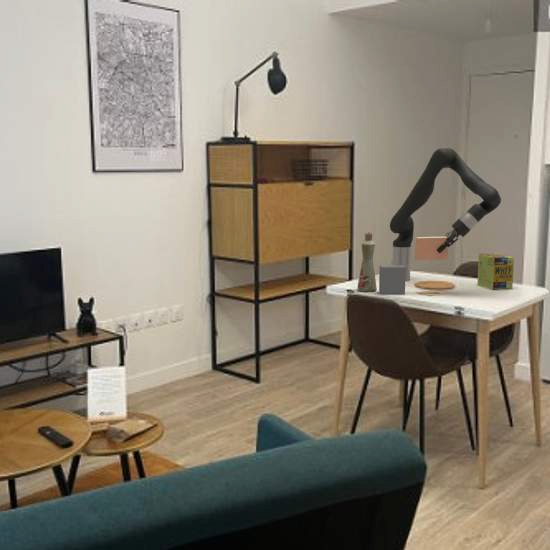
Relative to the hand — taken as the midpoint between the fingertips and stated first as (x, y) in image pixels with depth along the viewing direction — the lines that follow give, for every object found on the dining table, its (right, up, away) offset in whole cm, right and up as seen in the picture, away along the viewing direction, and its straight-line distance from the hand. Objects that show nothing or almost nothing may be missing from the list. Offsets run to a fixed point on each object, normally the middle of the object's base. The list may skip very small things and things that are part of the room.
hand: (437, 251), depth 308 cm
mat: (-3, -20, +3) cm, 20 cm away
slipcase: (-20, -20, +4) cm, 28 cm away
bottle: (-31, -19, +11) cm, 37 cm away
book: (-3, -4, +1) cm, 5 cm away
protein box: (+33, -17, +20) cm, 42 cm away
